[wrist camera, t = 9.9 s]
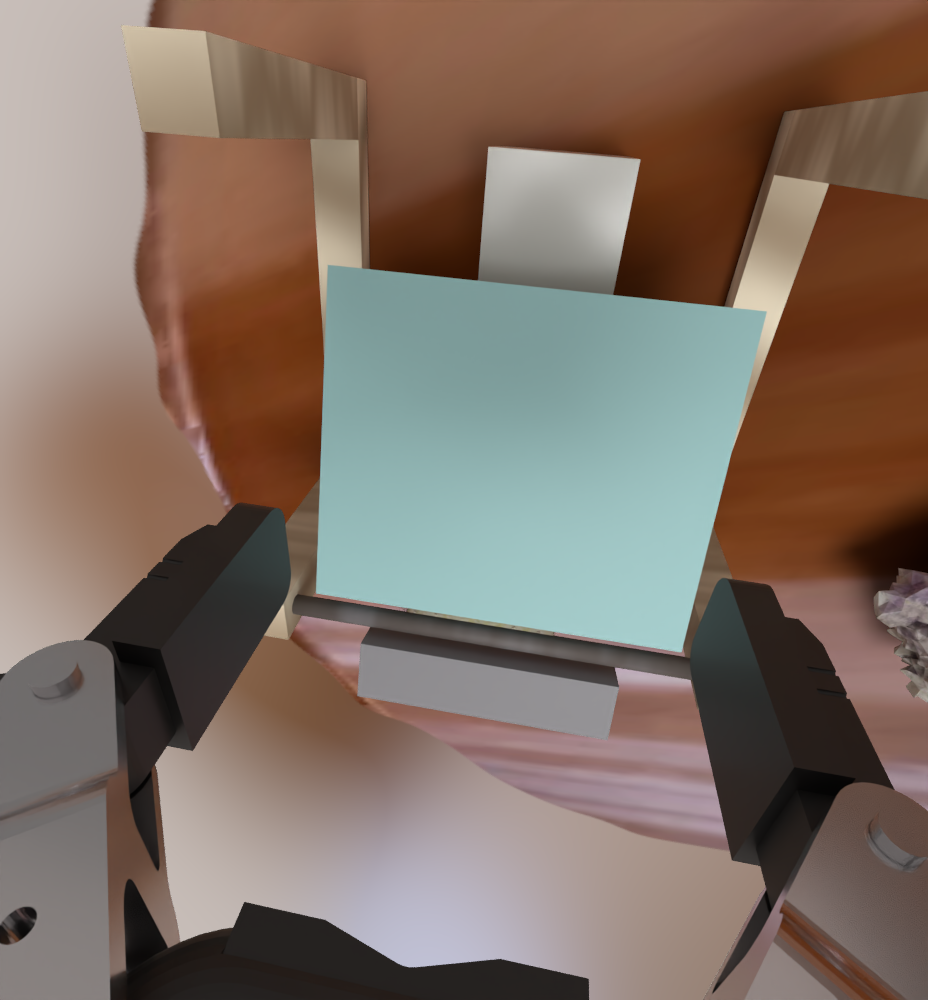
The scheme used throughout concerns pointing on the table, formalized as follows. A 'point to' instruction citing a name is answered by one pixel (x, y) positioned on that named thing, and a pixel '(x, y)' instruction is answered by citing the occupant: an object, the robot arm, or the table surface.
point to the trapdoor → (521, 478)
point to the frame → (345, 242)
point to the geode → (908, 625)
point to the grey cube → (555, 218)
